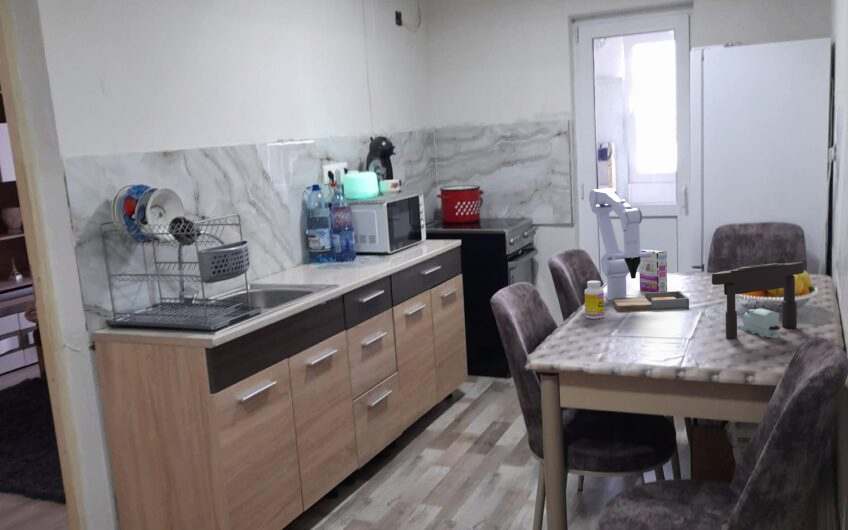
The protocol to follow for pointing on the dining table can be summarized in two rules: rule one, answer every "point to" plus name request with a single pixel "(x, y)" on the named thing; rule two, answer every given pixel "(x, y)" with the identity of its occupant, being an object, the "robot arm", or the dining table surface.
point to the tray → (668, 300)
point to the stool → (753, 282)
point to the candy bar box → (653, 272)
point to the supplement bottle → (594, 300)
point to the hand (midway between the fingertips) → (633, 278)
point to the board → (631, 304)
